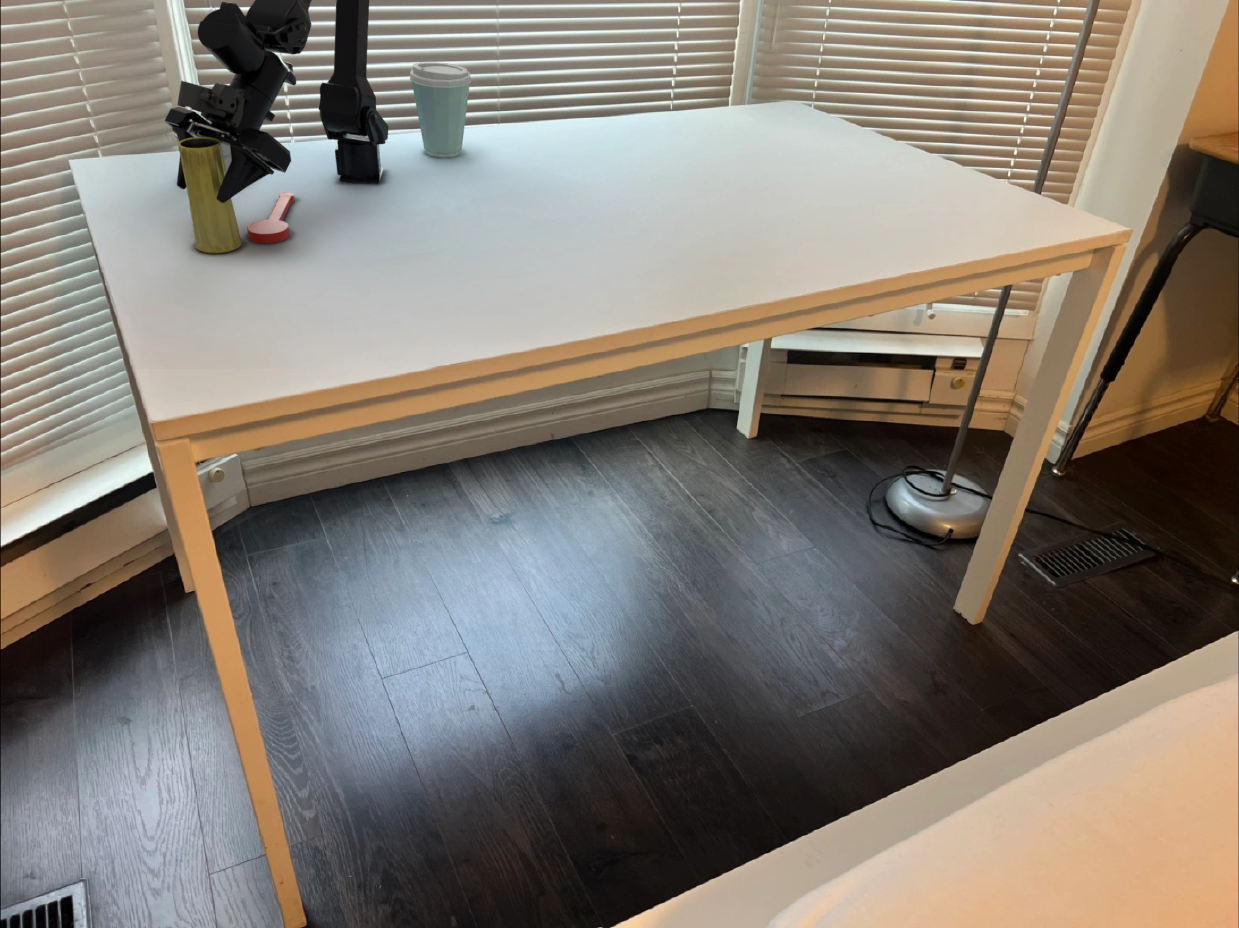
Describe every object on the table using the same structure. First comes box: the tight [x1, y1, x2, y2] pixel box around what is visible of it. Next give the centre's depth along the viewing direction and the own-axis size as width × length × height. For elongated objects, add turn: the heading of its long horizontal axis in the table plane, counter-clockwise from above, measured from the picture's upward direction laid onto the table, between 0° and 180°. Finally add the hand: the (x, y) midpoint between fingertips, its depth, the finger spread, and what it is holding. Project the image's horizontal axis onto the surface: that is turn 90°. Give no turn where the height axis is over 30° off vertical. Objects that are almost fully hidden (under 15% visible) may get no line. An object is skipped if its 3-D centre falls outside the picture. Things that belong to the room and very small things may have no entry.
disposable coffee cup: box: [409, 61, 472, 158], centre depth 168 cm, size 11×11×15 cm
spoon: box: [246, 191, 296, 244], centre depth 142 cm, size 6×18×1 cm, turn 6°
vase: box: [177, 137, 243, 255], centre depth 129 cm, size 6×6×14 cm
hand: (199, 194), depth 128 cm, fingers open, 8 cm apart
